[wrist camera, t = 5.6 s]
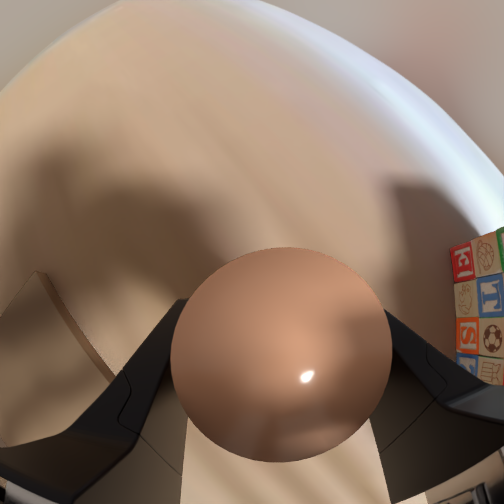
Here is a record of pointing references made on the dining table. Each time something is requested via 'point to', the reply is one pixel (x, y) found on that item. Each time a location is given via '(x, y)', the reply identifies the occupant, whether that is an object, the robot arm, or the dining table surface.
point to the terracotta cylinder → (281, 354)
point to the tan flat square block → (44, 366)
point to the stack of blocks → (480, 305)
